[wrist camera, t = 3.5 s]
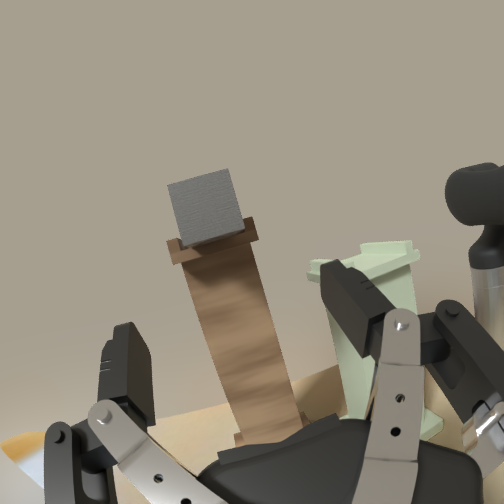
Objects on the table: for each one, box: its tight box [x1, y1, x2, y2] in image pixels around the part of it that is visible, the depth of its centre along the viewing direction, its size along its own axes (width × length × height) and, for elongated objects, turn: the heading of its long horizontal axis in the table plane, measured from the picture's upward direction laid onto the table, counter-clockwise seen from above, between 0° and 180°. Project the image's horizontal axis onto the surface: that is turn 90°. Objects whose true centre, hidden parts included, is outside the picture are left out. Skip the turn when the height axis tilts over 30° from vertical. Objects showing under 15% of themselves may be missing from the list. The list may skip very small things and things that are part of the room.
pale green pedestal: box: [306, 241, 443, 441], centre depth 33 cm, size 12×12×27 cm
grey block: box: [167, 169, 245, 248], centre depth 29 cm, size 22×4×4 cm, turn 8°
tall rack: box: [167, 217, 310, 447], centre depth 34 cm, size 15×12×33 cm
